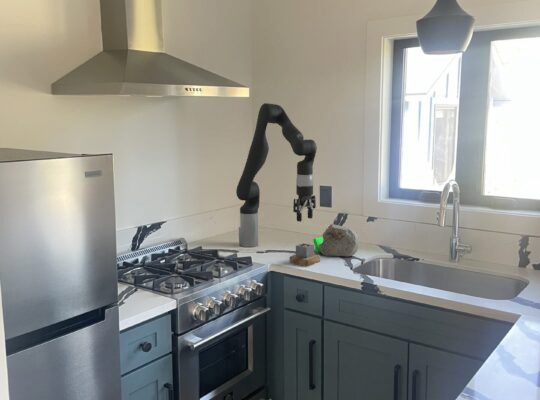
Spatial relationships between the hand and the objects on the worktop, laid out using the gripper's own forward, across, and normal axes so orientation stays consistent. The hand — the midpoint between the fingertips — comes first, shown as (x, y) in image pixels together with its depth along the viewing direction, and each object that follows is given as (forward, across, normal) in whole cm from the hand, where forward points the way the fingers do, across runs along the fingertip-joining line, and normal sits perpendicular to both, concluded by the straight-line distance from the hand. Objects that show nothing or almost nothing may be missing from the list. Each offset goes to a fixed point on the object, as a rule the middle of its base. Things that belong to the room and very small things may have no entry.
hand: (304, 219), depth 247 cm
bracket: (+20, -28, -5) cm, 35 cm away
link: (+17, 0, 0) cm, 17 cm away
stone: (+20, -20, +6) cm, 29 cm away
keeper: (+20, 0, 0) cm, 20 cm away
